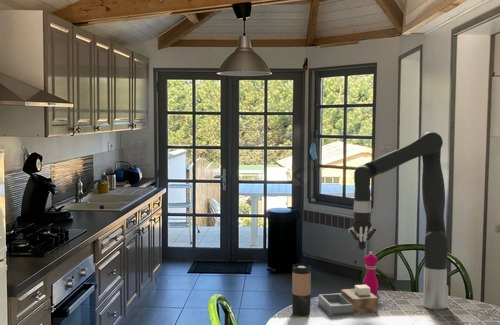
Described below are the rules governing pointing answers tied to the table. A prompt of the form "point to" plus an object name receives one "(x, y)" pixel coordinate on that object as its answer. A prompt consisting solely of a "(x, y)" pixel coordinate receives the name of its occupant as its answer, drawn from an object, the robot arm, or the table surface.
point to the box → (335, 304)
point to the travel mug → (301, 289)
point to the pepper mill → (371, 273)
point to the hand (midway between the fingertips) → (361, 249)
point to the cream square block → (362, 289)
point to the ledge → (361, 301)
